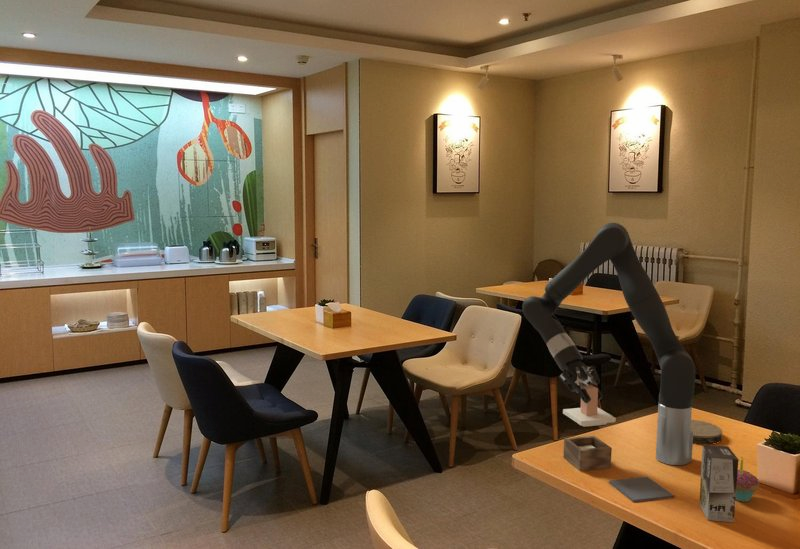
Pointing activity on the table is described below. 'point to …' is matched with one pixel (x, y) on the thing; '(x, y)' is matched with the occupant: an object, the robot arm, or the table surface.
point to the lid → (589, 411)
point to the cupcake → (745, 484)
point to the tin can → (705, 432)
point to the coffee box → (718, 483)
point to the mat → (641, 489)
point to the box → (587, 453)
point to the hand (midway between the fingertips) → (594, 400)
